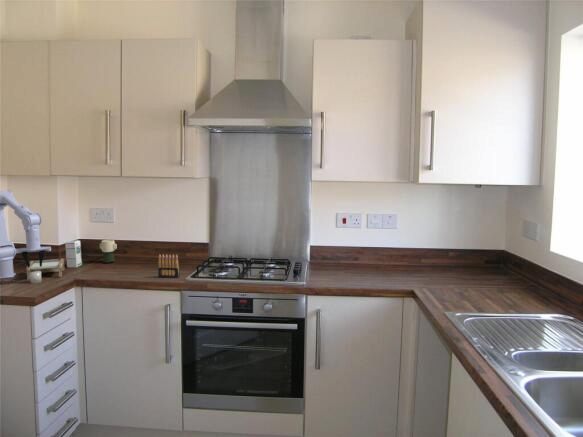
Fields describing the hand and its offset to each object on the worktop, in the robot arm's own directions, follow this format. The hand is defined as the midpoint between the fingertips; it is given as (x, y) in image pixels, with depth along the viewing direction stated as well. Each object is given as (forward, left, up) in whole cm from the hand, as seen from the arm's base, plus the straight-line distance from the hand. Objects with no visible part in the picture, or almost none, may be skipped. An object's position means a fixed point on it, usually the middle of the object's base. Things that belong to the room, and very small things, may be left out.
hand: (34, 266), depth 210 cm
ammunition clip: (+61, -16, -8) cm, 64 cm away
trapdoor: (+3, +13, -3) cm, 14 cm away
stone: (0, 0, -8) cm, 8 cm away
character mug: (+33, +33, -8) cm, 47 cm away
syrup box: (+15, +30, -8) cm, 34 cm away
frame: (+3, +14, -8) cm, 16 cm away
